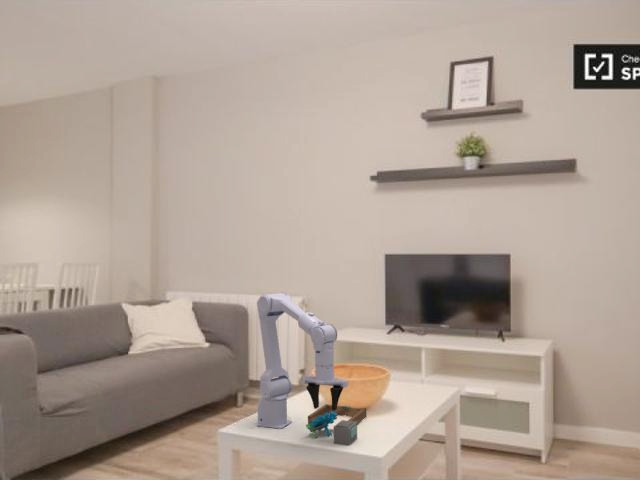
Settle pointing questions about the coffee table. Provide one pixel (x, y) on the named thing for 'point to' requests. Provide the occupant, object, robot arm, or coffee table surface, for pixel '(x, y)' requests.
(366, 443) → the coffee table surface
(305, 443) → the coffee table surface
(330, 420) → the blue green toy construction
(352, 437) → the block
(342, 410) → the frame
